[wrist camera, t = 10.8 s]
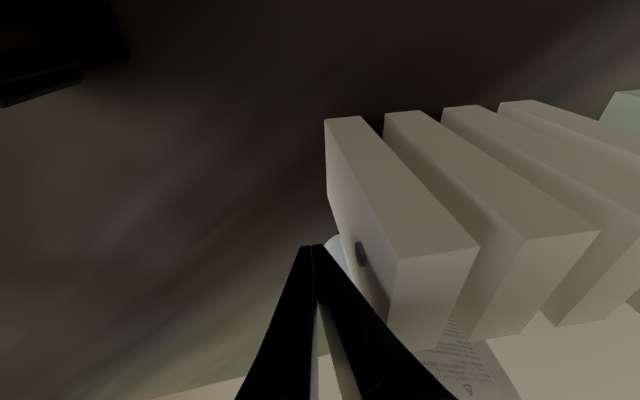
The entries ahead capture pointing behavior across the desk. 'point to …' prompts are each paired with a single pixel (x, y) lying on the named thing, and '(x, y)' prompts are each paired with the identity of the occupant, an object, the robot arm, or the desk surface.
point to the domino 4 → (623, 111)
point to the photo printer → (453, 355)
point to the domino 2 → (492, 225)
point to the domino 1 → (395, 234)
